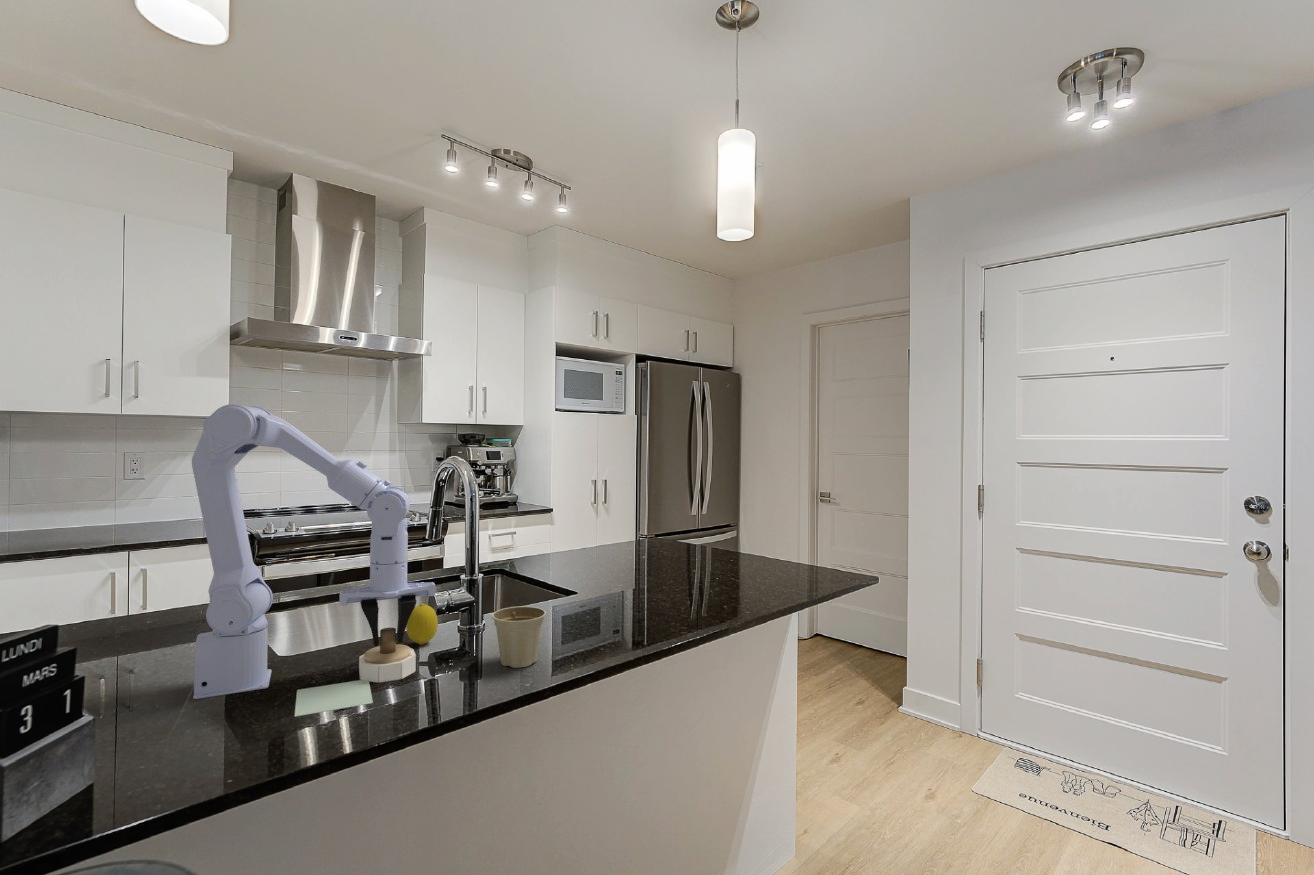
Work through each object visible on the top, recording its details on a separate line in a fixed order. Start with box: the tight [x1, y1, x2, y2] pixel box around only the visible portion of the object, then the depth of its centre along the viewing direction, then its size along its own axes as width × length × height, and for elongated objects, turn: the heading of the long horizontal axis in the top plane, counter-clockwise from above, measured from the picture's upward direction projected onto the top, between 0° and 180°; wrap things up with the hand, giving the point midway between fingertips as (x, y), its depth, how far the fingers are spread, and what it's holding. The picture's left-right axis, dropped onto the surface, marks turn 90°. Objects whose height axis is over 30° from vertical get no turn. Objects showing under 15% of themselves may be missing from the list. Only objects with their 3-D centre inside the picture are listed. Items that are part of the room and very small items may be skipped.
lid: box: [364, 627, 411, 664], centre depth 104 cm, size 7×7×4 cm
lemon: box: [405, 602, 439, 646], centre depth 118 cm, size 6×6×8 cm
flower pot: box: [491, 605, 547, 669], centre depth 110 cm, size 9×9×9 cm
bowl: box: [358, 648, 417, 683], centre depth 104 cm, size 8×8×3 cm
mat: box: [294, 679, 374, 718], centre depth 94 cm, size 10×10×1 cm
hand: (387, 642), depth 104 cm, fingers open, 3 cm apart
